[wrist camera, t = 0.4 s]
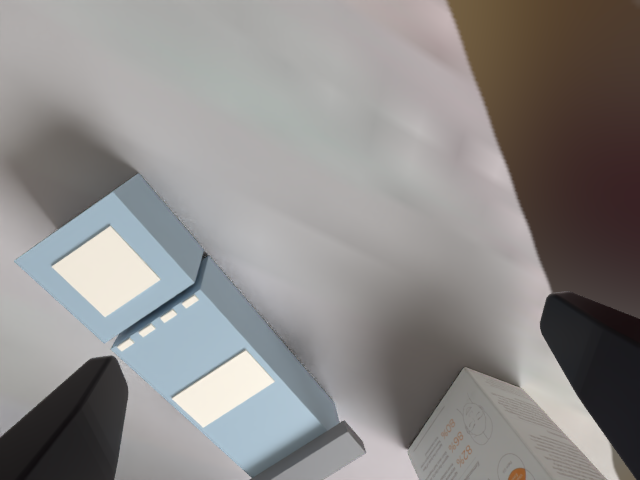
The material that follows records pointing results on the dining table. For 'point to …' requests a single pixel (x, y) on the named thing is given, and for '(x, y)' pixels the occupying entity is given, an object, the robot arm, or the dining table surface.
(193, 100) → the dining table surface
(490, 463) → the small box
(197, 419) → the blue notched block
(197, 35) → the dining table surface
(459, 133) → the dining table surface
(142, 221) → the light blue block
